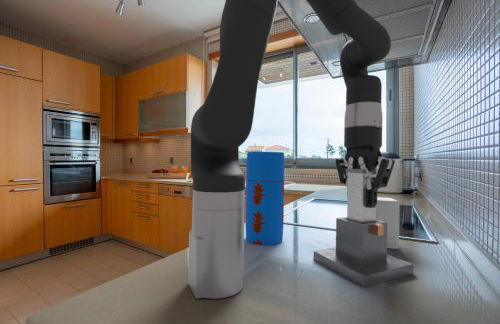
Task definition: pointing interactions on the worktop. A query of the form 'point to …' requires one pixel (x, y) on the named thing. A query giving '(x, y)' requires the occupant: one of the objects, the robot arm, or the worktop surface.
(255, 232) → the thermos
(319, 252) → the stand base
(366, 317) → the worktop surface
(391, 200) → the supplement box
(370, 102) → the robot arm
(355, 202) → the column
